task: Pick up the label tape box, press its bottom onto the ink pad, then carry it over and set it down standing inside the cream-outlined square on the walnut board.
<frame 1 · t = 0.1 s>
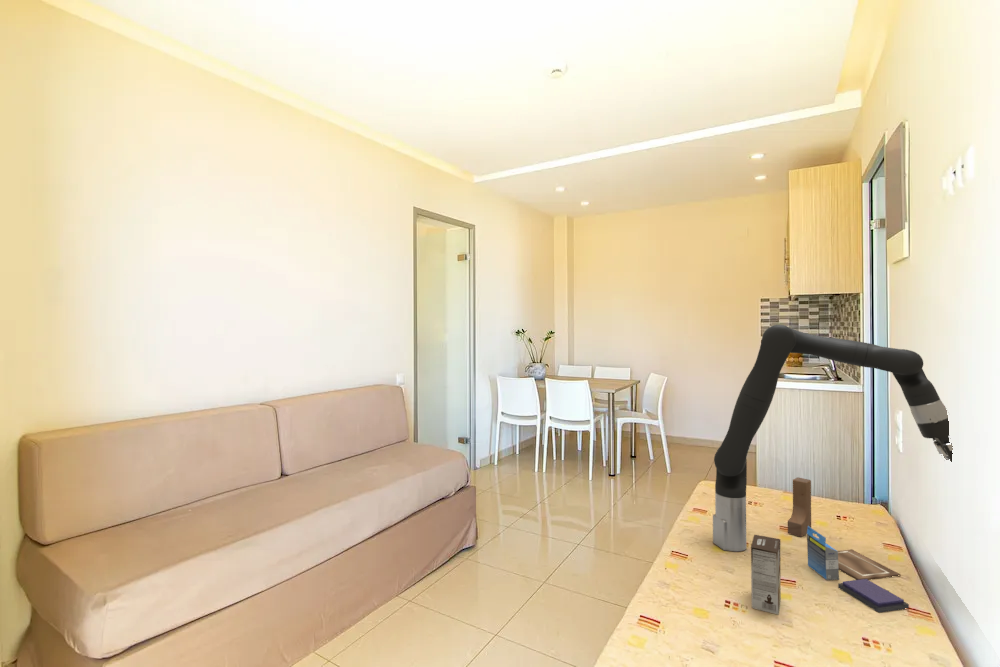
hand: (960, 475, 132), 31 cm above the table, tool tilted 20°, fingers open, 8 cm apart
wooden block: (799, 532, 171), on the table
walnut board: (854, 565, 147), on the table
ink pad: (872, 597, 130), on the table
label tape box: (822, 573, 143), on the table
coffee box: (766, 604, 128), on the table
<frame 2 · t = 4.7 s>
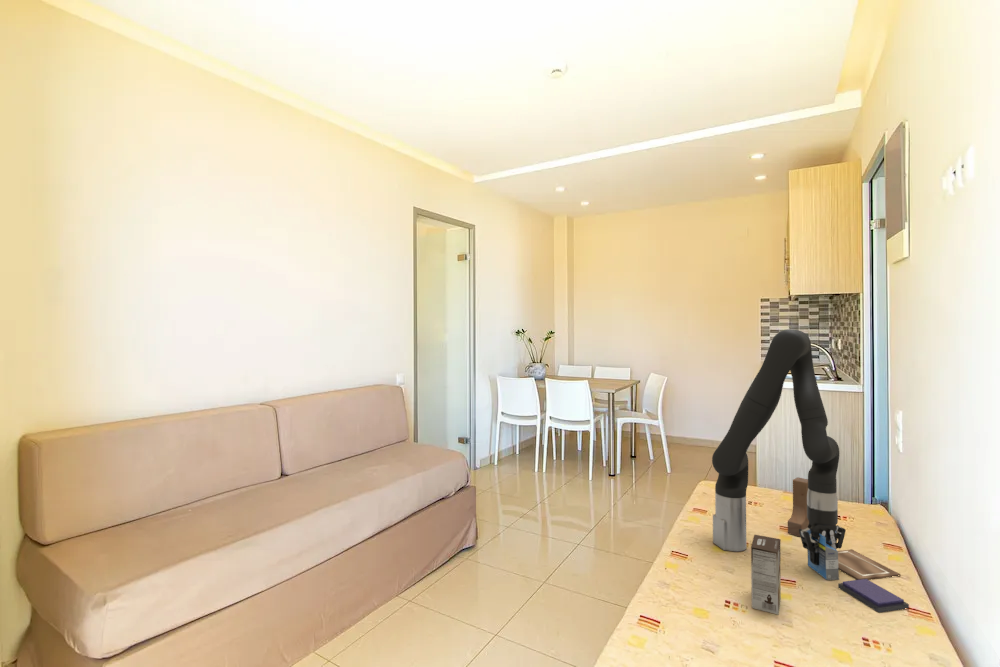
hand: (822, 562, 143), 3 cm above the table, tool pointing down, fingers closed on label tape box, 4 cm apart
label tape box: (822, 573, 143), on the table, touching gripper
everything else where it was.
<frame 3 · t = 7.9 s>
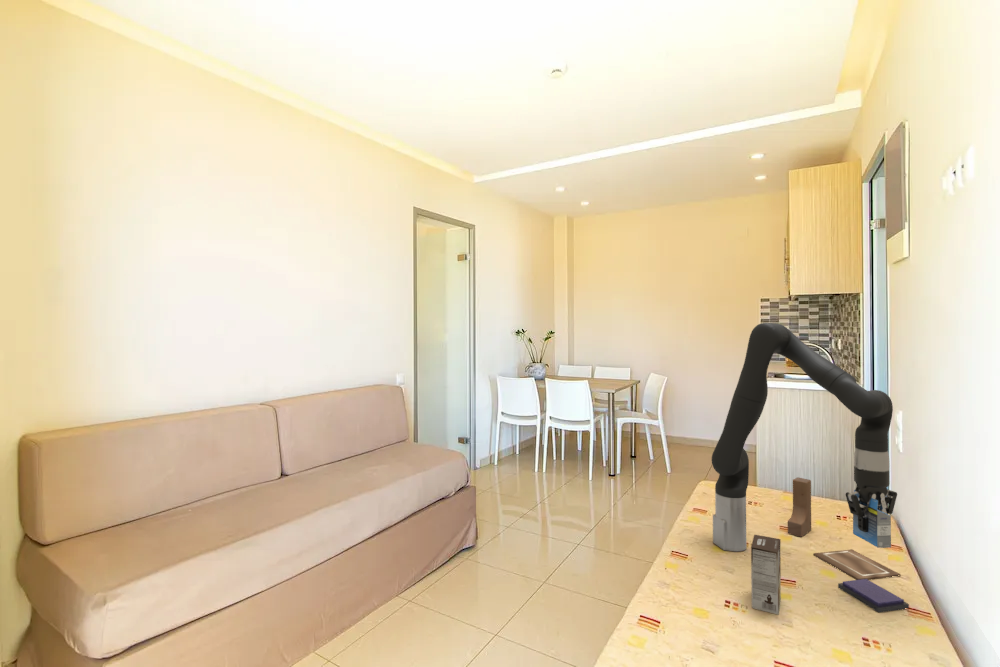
hand: (871, 529, 130), 18 cm above the table, tool pointing down, fingers closed on label tape box, 4 cm apart
label tape box: (870, 541, 130), point 15 cm above the table, touching gripper
everything else where it was.
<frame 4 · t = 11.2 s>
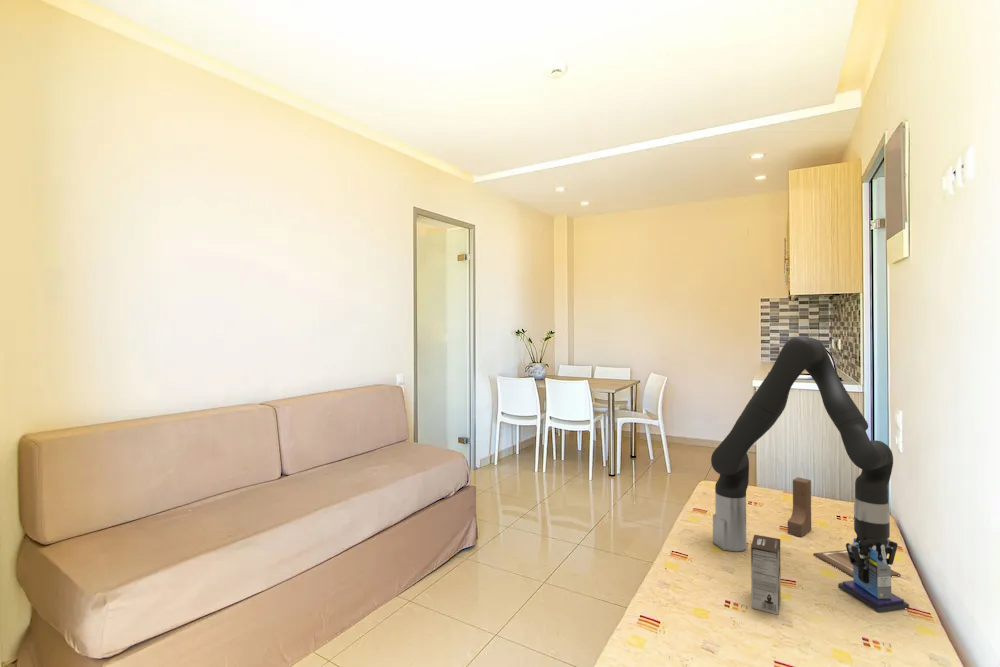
hand: (871, 580, 130), 5 cm above the table, tool pointing down, fingers closed on label tape box, 4 cm apart
label tape box: (871, 590, 130), point 2 cm above the table, touching gripper, ink pad
everything else where it was.
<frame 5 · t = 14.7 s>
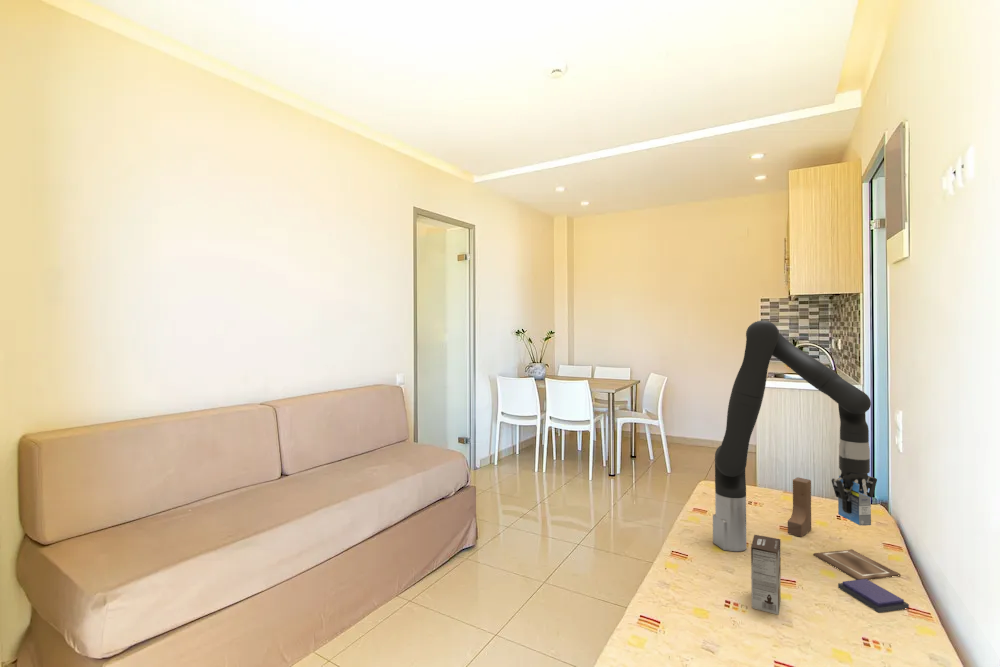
hand: (854, 511, 147), 16 cm above the table, tool pointing down, fingers closed on label tape box, 4 cm apart
label tape box: (853, 520, 147), point 13 cm above the table, touching gripper
everything else where it was.
when the fingers open (4 cm above the table, at t = 17.8 s): label tape box stays where it is, resting on walnut board.
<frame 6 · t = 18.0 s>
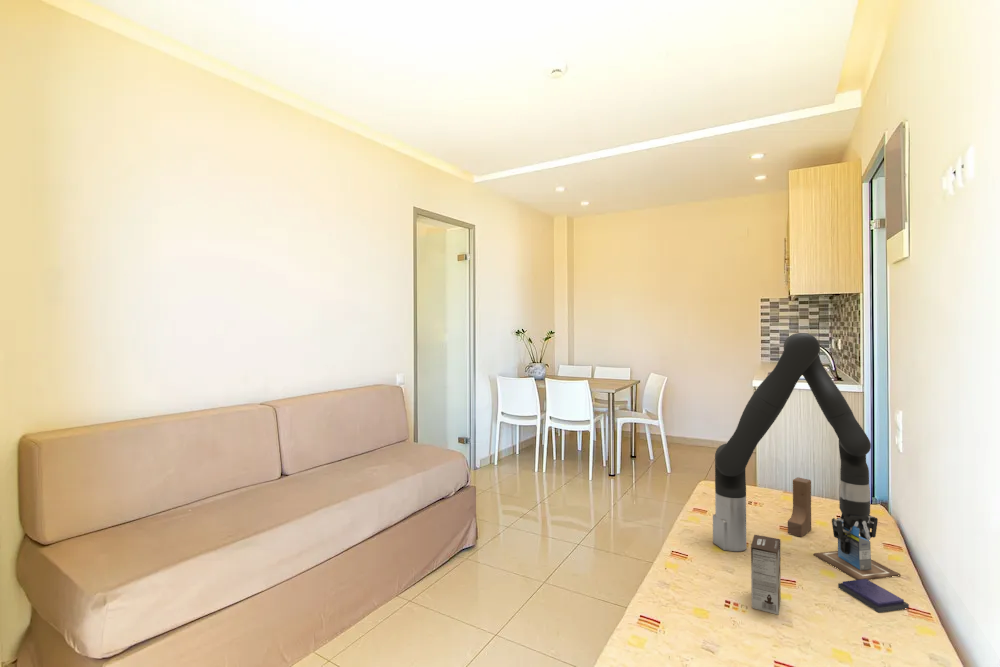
hand: (854, 551, 147), 4 cm above the table, tool pointing down, fingers open, 6 cm apart
label tape box: (853, 563, 147), resting on walnut board
everything else where it was.
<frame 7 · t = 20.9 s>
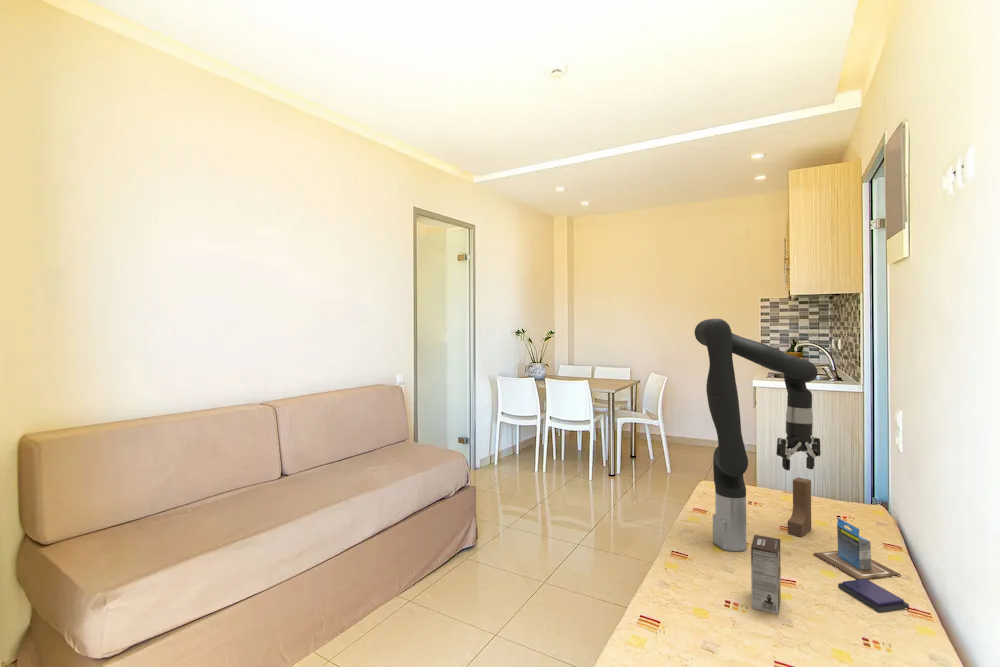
hand: (798, 469, 162), 25 cm above the table, tool pointing down, fingers open, 8 cm apart
nothing on the table moved.
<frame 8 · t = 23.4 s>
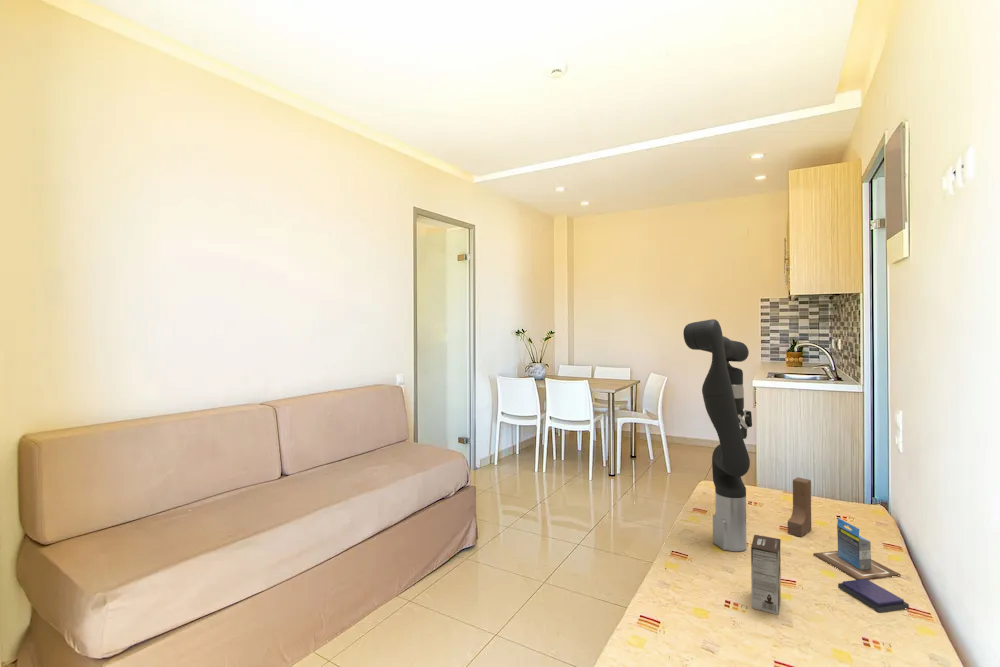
hand: (732, 439, 183), 30 cm above the table, tool pointing down, fingers open, 8 cm apart
nothing on the table moved.
at the end: label tape box 0.2 cm off-centre on the walnut board, point 0.4 cm above the walnut board's base; label tape box tilted 0°; the gripper is holding nothing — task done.
